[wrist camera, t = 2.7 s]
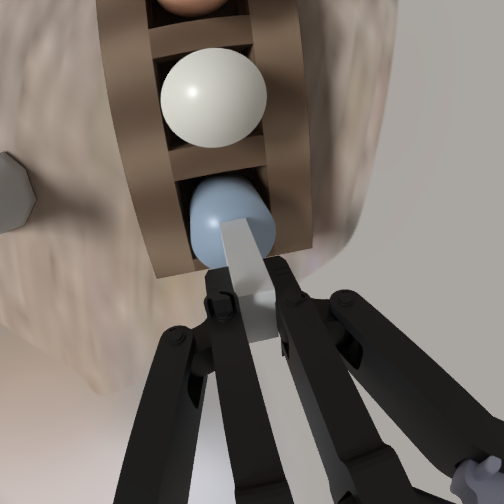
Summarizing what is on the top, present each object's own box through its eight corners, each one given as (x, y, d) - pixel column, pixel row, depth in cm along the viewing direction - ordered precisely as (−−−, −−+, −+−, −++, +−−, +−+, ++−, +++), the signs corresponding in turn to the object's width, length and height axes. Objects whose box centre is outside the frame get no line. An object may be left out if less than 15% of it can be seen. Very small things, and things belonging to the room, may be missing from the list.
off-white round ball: (163, 65, 15) (153, 58, 11) (243, 53, 16) (261, 43, 12) (175, 139, 18) (170, 156, 14) (252, 126, 18) (271, 139, 14)
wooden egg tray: (108, -27, 12) (94, -44, 9) (269, -49, 14) (284, -69, 10) (160, 251, 25) (156, 278, 22) (296, 224, 26) (312, 247, 23)
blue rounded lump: (183, 178, 20) (182, 206, 16) (254, 166, 21) (272, 189, 17) (197, 240, 23) (200, 279, 19) (261, 228, 23) (278, 264, 19)
